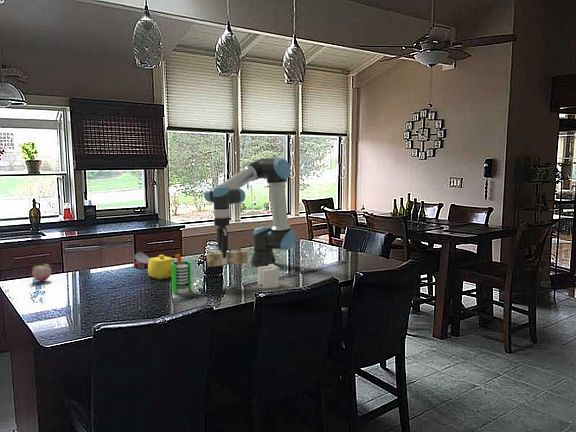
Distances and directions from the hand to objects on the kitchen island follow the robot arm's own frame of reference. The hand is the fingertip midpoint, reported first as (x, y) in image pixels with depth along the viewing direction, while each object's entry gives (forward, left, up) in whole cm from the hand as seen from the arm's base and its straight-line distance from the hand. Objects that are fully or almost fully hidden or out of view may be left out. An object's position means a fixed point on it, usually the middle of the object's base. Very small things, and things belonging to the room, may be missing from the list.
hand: (223, 263), depth 241 cm
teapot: (-34, -26, -12) cm, 44 cm away
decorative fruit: (-48, -87, -12) cm, 100 cm away
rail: (0, +2, -1) cm, 2 cm away
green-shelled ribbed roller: (+1, -22, -12) cm, 25 cm away
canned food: (-64, -34, -12) cm, 73 cm away
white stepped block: (+8, +21, -12) cm, 26 cm away
